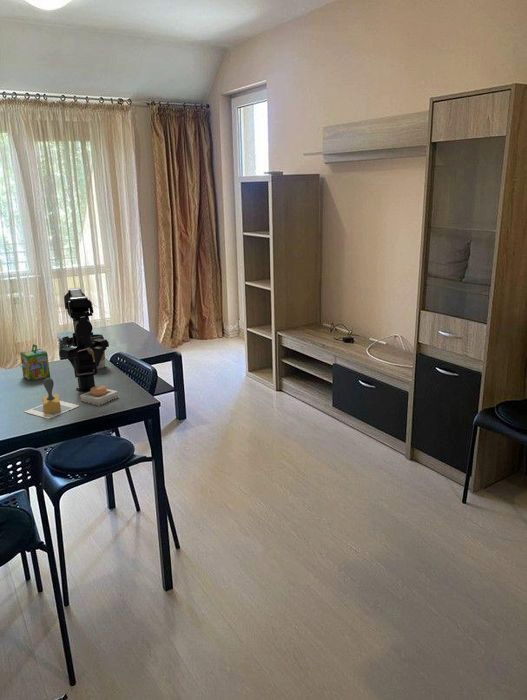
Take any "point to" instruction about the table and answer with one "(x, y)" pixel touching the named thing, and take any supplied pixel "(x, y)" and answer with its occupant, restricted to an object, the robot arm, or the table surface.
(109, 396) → the button housing
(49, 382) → the rubber stamp
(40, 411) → the paper sheet
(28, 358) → the chalk box
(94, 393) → the button
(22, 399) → the table surface
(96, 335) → the coffee cup
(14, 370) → the table surface
